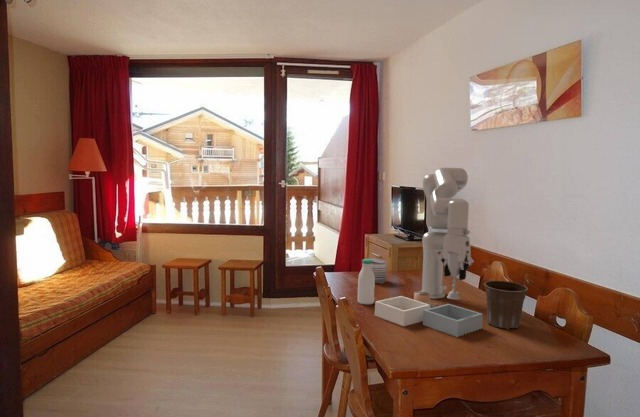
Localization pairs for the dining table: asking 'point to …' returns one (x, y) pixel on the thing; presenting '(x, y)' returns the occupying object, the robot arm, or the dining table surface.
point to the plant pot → (504, 303)
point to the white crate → (401, 310)
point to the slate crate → (452, 319)
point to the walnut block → (432, 304)
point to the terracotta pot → (422, 297)
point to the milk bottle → (366, 283)
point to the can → (379, 270)
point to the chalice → (453, 273)
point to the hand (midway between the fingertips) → (454, 277)
